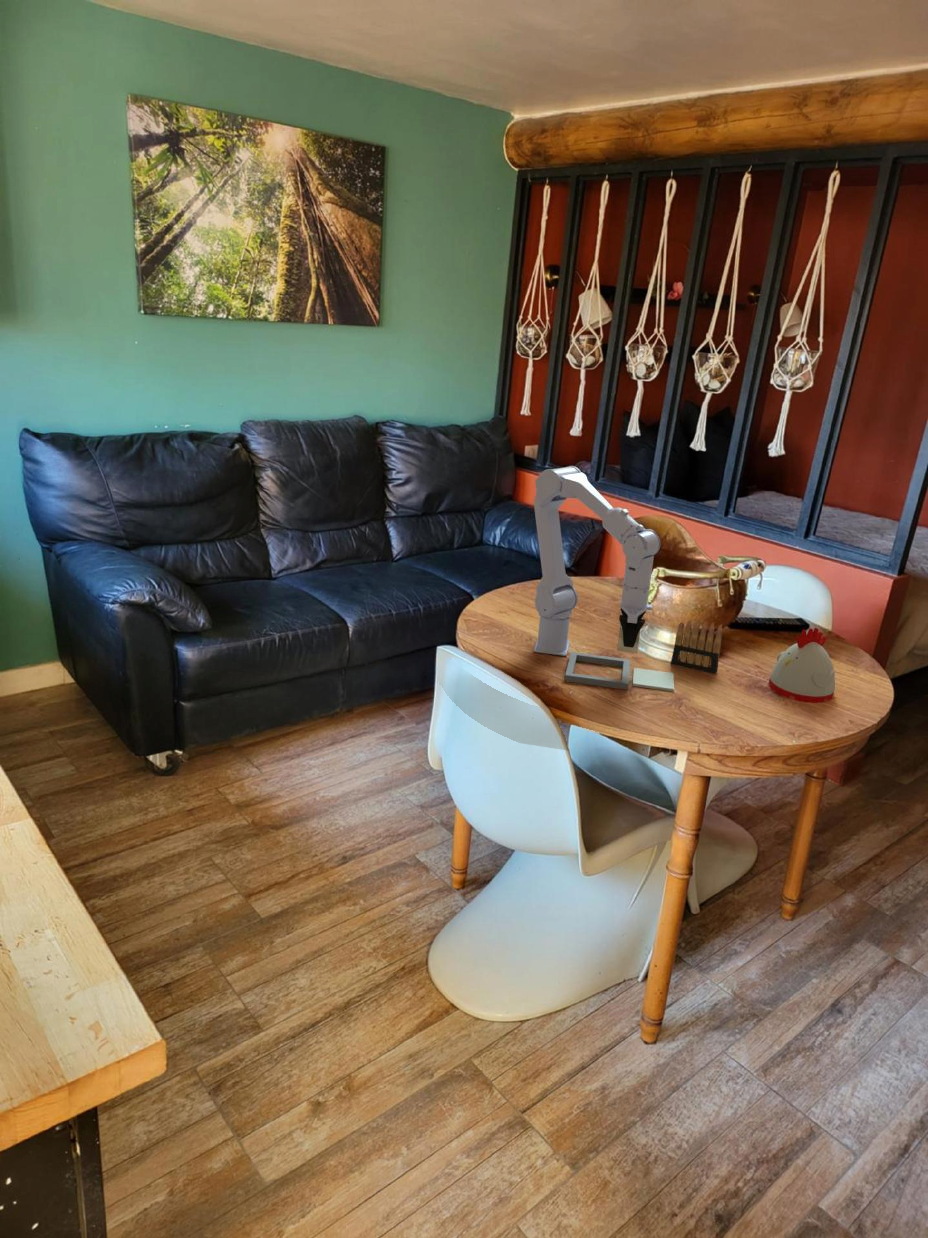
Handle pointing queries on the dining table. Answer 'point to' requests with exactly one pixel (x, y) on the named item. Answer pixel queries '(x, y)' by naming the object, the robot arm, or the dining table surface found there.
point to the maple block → (621, 645)
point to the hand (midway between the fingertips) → (629, 642)
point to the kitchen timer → (804, 670)
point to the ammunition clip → (697, 648)
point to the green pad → (653, 679)
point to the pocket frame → (593, 679)
